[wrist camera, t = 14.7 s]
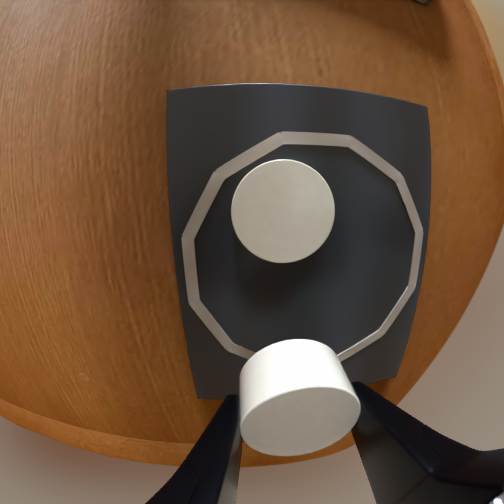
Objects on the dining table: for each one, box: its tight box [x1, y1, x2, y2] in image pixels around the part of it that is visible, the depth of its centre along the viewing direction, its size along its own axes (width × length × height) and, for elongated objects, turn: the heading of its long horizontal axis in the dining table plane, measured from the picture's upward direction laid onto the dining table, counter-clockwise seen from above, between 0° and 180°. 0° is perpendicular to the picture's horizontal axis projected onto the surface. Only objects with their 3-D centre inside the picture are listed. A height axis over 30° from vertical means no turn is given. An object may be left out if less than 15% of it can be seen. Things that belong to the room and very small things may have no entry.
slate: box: [167, 83, 431, 399], centre depth 14 cm, size 14×18×1 cm
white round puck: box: [231, 159, 335, 263], centre depth 11 cm, size 4×4×2 cm
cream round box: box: [239, 339, 361, 456], centre depth 8 cm, size 4×4×2 cm
